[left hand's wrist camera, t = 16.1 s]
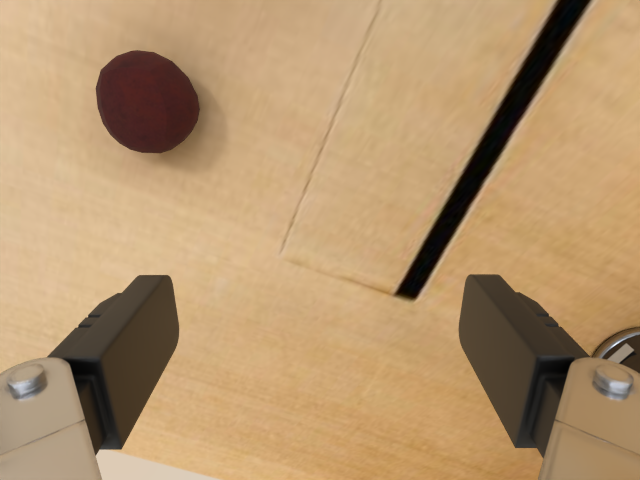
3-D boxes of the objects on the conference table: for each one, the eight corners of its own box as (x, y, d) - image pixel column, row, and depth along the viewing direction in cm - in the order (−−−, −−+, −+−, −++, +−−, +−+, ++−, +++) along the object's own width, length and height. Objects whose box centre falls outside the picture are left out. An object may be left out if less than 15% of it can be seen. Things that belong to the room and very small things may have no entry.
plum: (137, 150, 37) (97, 165, 30) (111, 58, 34) (61, 53, 28) (216, 141, 37) (193, 154, 30) (196, 47, 34) (167, 39, 27)
